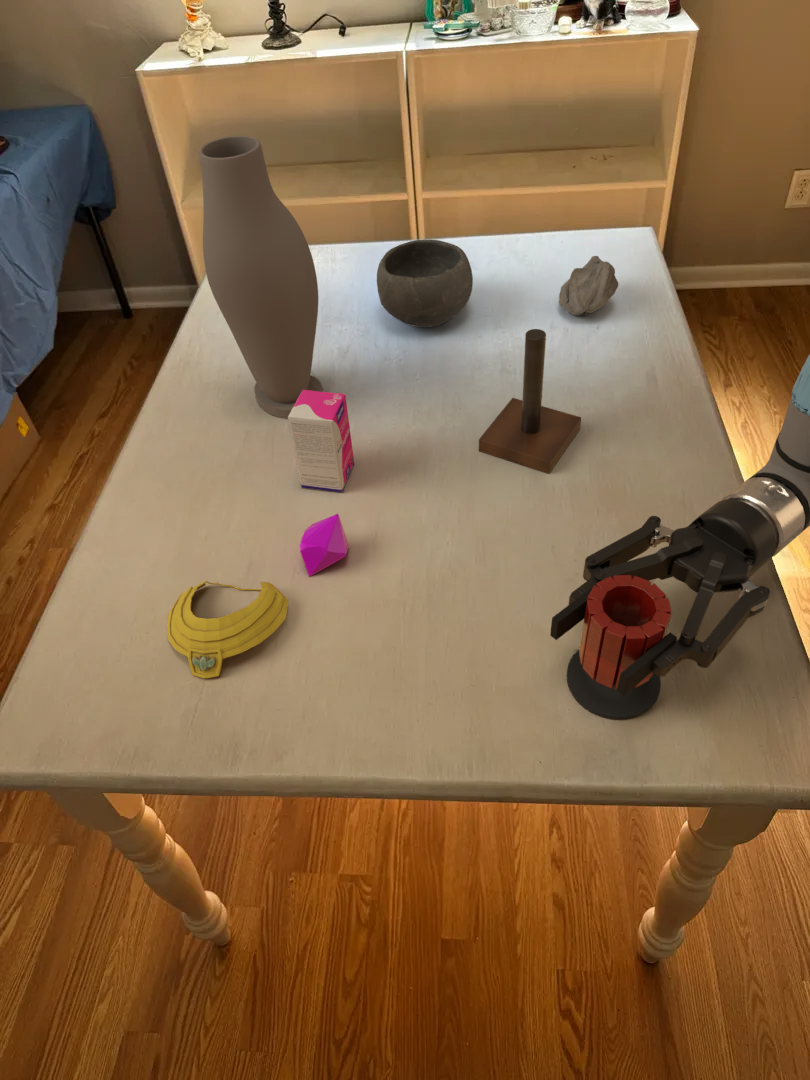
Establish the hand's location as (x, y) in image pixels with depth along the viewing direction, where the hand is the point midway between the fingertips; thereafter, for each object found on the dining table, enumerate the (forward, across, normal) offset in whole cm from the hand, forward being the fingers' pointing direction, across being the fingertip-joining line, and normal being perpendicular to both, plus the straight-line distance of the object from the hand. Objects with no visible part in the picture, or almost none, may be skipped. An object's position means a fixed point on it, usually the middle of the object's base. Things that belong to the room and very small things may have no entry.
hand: (587, 655), depth 69 cm
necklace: (+22, -32, +9) cm, 39 cm away
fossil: (-55, -49, +9) cm, 74 cm away
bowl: (-35, -65, +9) cm, 75 cm away
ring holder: (-25, -32, +9) cm, 42 cm away
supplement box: (-1, -44, +9) cm, 45 cm away
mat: (-5, 0, +9) cm, 10 cm away
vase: (-7, -62, +9) cm, 63 cm away
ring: (-5, 0, +5) cm, 7 cm away
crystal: (+7, -33, +9) cm, 35 cm away
